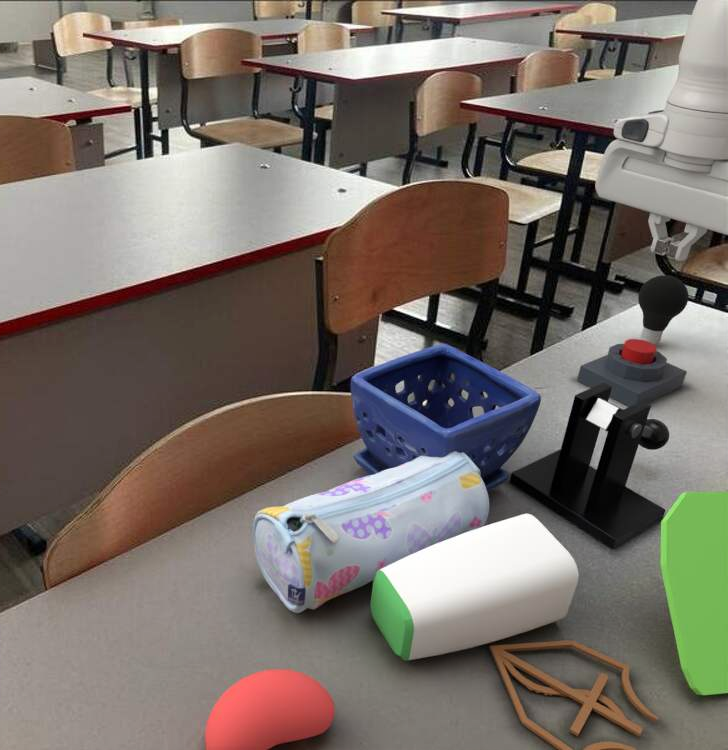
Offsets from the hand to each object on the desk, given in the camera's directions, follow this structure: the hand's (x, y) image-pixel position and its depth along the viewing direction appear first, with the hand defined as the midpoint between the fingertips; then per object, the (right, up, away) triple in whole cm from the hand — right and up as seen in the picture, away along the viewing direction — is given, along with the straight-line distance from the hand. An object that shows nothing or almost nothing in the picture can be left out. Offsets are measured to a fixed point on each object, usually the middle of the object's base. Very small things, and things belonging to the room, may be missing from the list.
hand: (667, 255), depth 91 cm
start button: (0, -12, +7) cm, 13 cm away
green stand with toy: (-9, -30, -29) cm, 43 cm away
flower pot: (-30, -25, -9) cm, 40 cm away
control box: (0, -15, +9) cm, 17 cm away
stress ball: (-48, -37, -39) cm, 73 cm away
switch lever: (-11, -20, -13) cm, 26 cm away
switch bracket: (-15, -26, -12) cm, 32 cm away
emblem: (-25, -37, -32) cm, 55 cm away
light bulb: (+7, -10, +18) cm, 22 cm away
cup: (-39, -33, -30) cm, 59 cm away
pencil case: (-38, -31, -20) cm, 53 cm away
